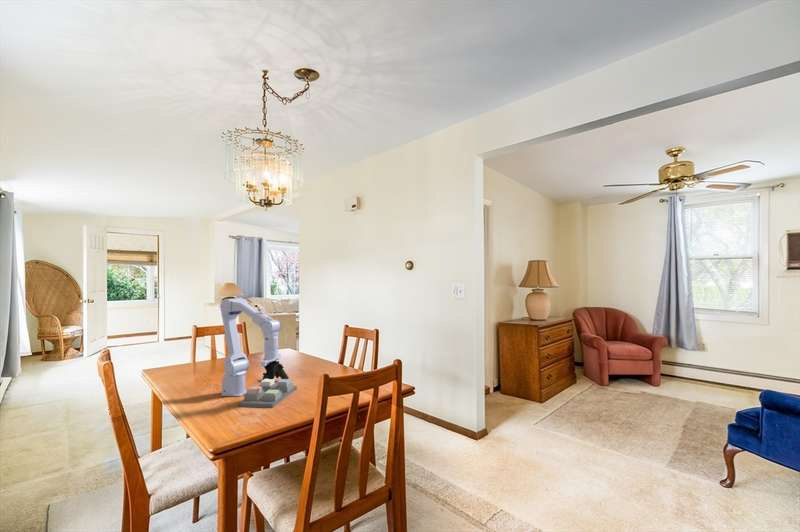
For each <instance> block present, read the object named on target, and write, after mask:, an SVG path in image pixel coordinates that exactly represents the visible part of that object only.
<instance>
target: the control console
mask: <svg viewBox="0 0 800 532" xmlns="http://www.w3.org/2000/svg"><path fill="white" fill-rule="evenodd" d="M258 387H262V392H260V393H259V394H257V395H254V394H247V393H245V394H243V395H244V396H243V399H242V400H240V401H239V402H238V407H242V408H243V407H246V408H247V407H249V408H274V407H276V406H277V405H278V404H279V403H281V402H282V401H283V400H285V399H286V398H288V396H290V395H291V394H292V393H293V392H295V391H296V390H298V385H294V382H291V384H290V385H289V386H287V387H283V386H277V382H275V383H274V384H273V385H271V386H261V384H259V385H258ZM268 390H279V393H277V394H276V395H264V393H265V392H266V391H268Z"/></svg>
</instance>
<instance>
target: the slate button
mask: <svg viewBox="0 0 800 532" xmlns="http://www.w3.org/2000/svg"><path fill="white" fill-rule="evenodd" d="M276 383H277V386H283V387H287V386H289V385H290V384H291V383H292V379H291V378H290V379H289V378H288V379H281V378H280V379H279V380H278V381H276Z"/></svg>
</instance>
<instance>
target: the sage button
mask: <svg viewBox="0 0 800 532" xmlns="http://www.w3.org/2000/svg"><path fill="white" fill-rule="evenodd" d="M277 393H279V390H268V391H266V392H265V393H264V395H276V394H277Z"/></svg>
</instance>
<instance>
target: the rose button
mask: <svg viewBox="0 0 800 532" xmlns="http://www.w3.org/2000/svg"><path fill="white" fill-rule="evenodd" d="M258 386H259V385H258ZM258 386H249V388H247V389H246V390H247V394H254V395H257V394H259V393H260V392H262V387H258Z"/></svg>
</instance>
